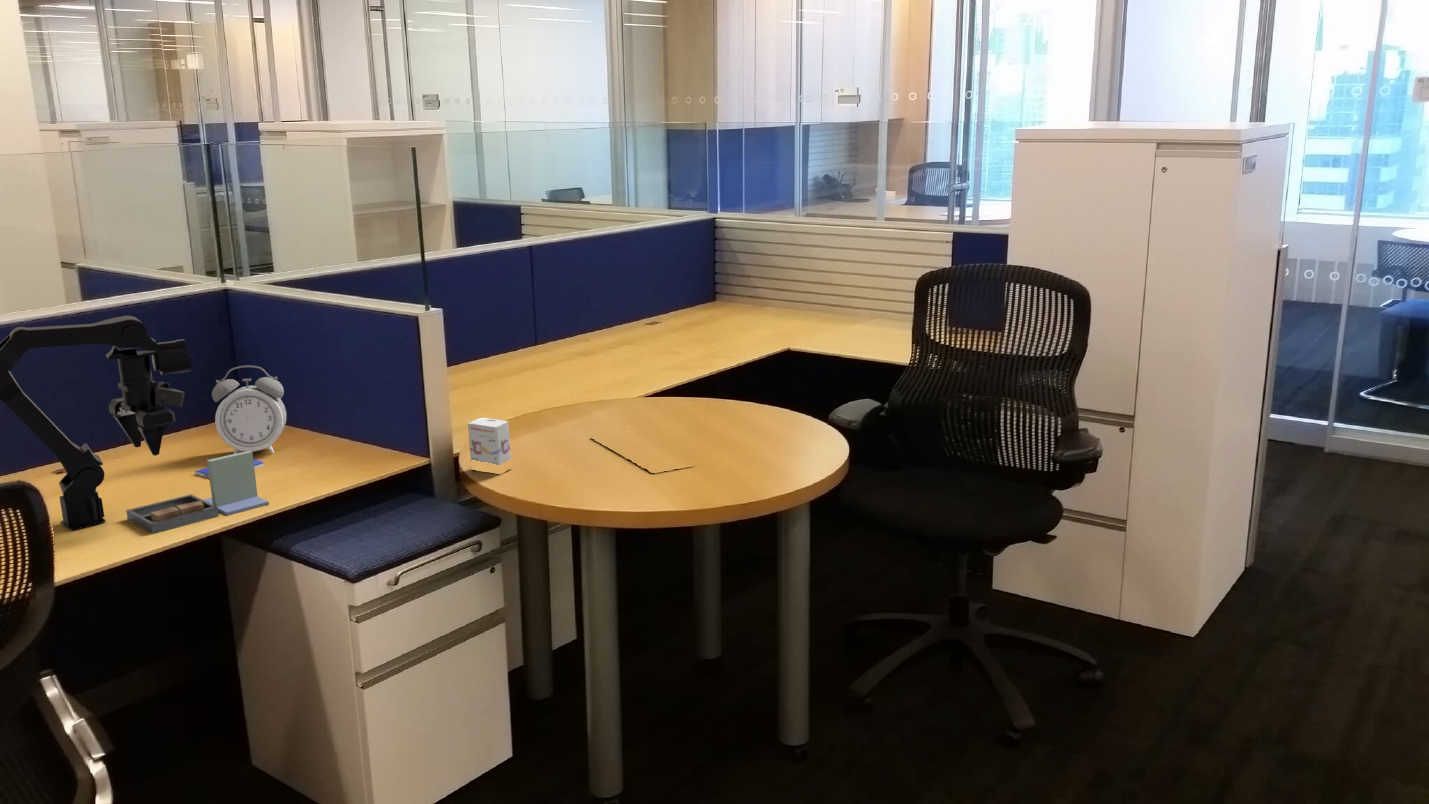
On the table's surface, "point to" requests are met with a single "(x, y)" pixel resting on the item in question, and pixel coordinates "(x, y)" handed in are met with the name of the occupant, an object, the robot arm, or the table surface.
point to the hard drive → (205, 471)
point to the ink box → (489, 440)
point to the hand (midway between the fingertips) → (146, 451)
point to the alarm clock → (250, 412)
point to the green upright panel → (232, 478)
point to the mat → (240, 505)
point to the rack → (144, 519)
